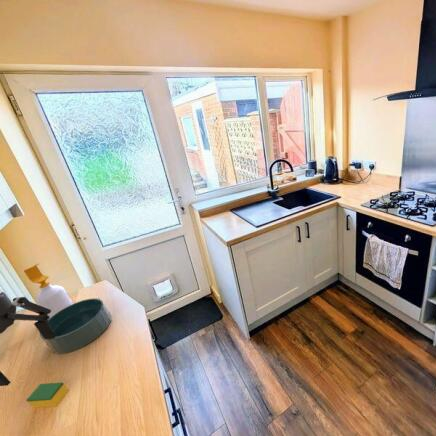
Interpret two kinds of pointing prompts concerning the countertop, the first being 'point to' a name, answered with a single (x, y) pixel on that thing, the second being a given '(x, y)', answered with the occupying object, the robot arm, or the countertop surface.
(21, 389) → the countertop surface
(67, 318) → the bowl
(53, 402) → the sponge
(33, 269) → the soap bottle
